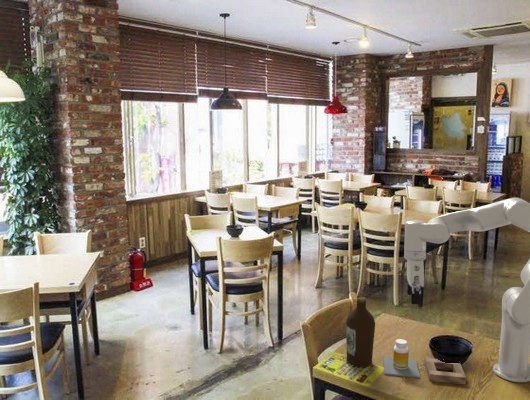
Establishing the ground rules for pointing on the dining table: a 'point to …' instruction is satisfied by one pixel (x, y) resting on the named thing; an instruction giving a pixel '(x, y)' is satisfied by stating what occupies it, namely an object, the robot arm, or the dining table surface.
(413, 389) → the dining table surface
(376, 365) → the dining table surface
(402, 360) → the supplement bottle
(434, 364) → the frame
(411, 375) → the slate coaster
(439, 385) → the dining table surface
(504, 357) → the robot arm
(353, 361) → the olive oil
